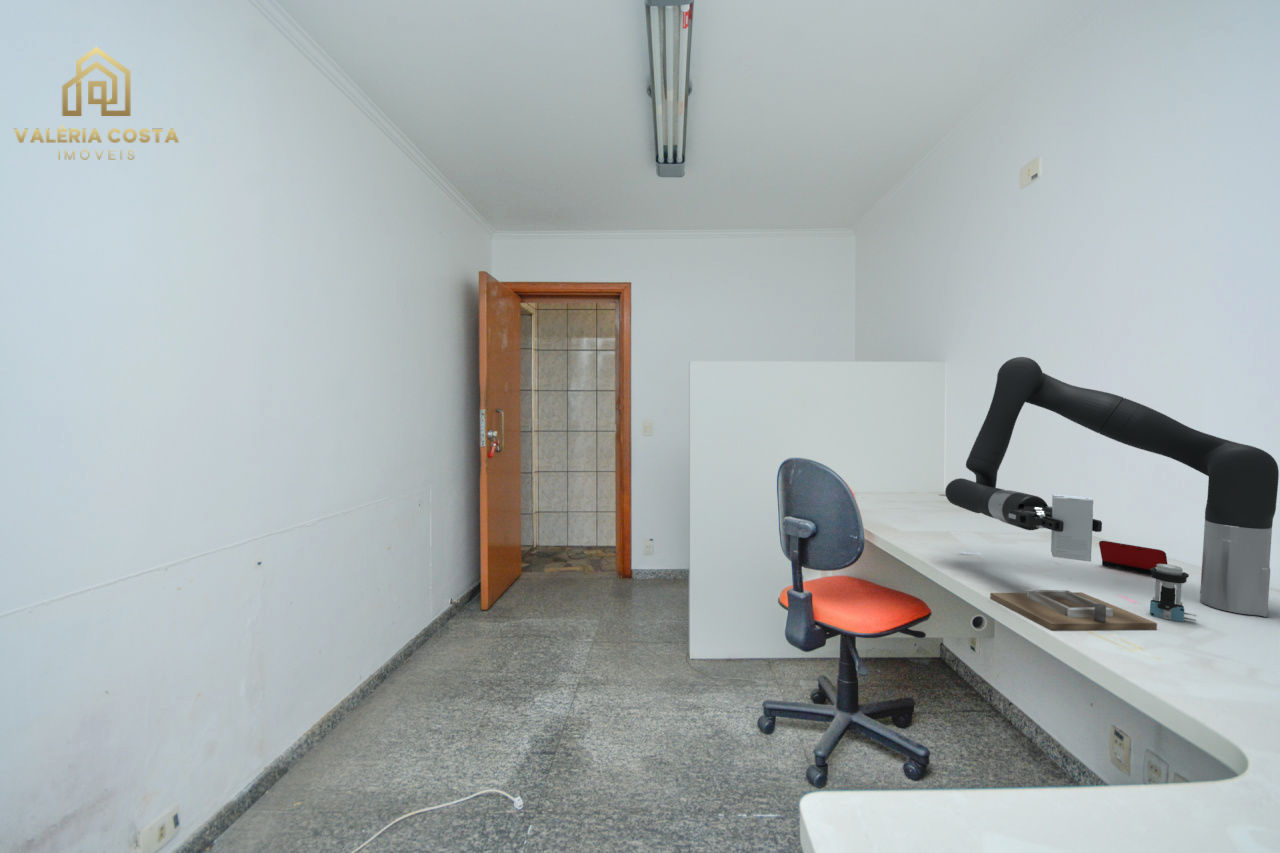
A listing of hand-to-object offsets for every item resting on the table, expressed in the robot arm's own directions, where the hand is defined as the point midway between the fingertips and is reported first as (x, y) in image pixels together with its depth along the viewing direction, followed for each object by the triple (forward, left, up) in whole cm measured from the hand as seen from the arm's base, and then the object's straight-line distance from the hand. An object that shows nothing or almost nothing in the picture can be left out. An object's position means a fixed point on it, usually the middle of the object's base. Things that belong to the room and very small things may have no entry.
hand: (1080, 526), depth 104 cm
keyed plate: (+2, -1, -18) cm, 18 cm away
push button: (-12, -13, -18) cm, 25 cm away
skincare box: (+2, -1, -7) cm, 7 cm away
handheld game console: (-4, -50, -18) cm, 54 cm away
